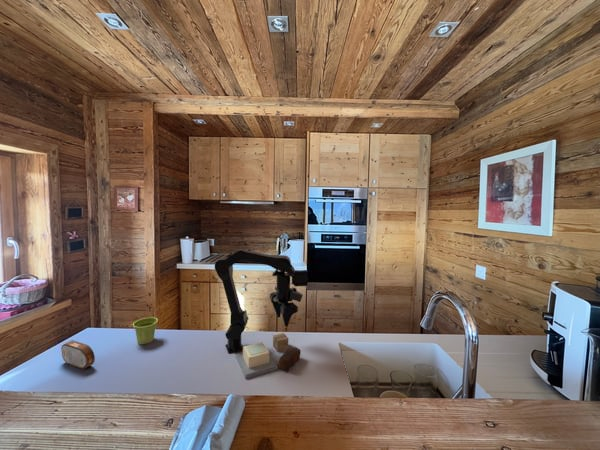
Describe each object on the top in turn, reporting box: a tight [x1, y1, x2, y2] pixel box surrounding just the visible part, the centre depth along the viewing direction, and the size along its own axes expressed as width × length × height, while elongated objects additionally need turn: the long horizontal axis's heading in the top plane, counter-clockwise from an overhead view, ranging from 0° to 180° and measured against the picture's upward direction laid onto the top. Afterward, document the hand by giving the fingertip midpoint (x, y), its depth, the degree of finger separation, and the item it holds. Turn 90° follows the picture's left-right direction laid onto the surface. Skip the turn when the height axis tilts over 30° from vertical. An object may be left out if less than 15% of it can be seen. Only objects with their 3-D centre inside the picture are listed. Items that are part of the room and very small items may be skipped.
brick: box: [278, 346, 301, 373], centre depth 97 cm, size 11×4×5 cm, turn 152°
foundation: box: [235, 342, 278, 380], centre depth 96 cm, size 14×12×6 cm
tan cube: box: [272, 332, 289, 353], centre depth 108 cm, size 5×5×5 cm
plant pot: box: [132, 317, 159, 345], centre depth 110 cm, size 9×9×9 cm
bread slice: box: [61, 339, 96, 370], centre depth 92 cm, size 15×3×8 cm, turn 71°
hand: (282, 321), depth 106 cm, fingers open, 9 cm apart
